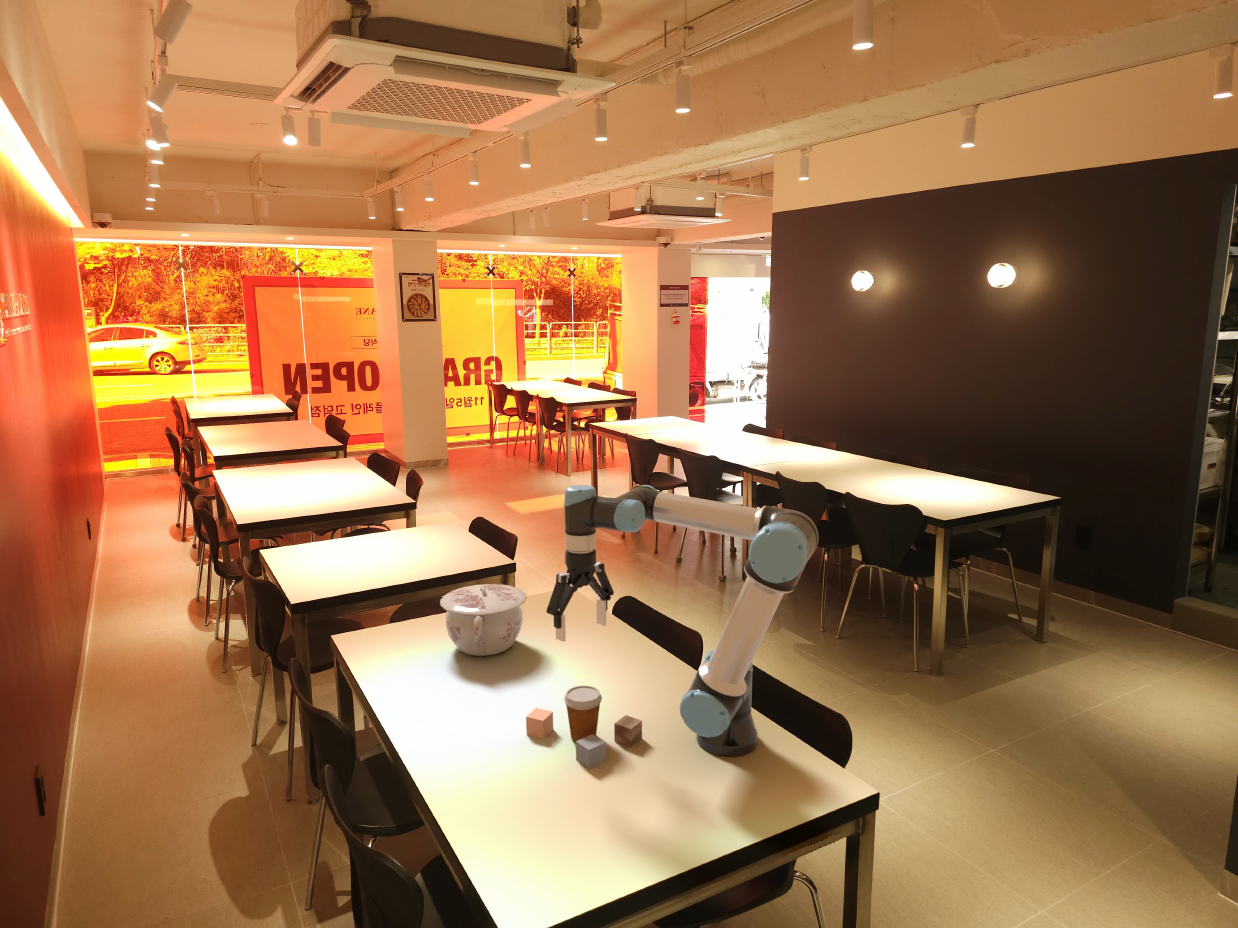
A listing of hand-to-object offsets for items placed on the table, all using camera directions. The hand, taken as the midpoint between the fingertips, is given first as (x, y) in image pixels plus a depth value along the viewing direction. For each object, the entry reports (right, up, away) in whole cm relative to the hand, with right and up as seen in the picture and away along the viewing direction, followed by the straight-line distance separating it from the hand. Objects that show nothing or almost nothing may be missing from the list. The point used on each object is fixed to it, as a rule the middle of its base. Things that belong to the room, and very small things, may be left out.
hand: (581, 631), depth 191 cm
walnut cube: (+12, -28, +4) cm, 31 cm away
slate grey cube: (+2, -30, -5) cm, 30 cm away
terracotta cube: (-11, -27, +8) cm, 31 cm away
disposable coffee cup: (0, -28, +5) cm, 29 cm away
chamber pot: (-34, -18, +59) cm, 71 cm away
